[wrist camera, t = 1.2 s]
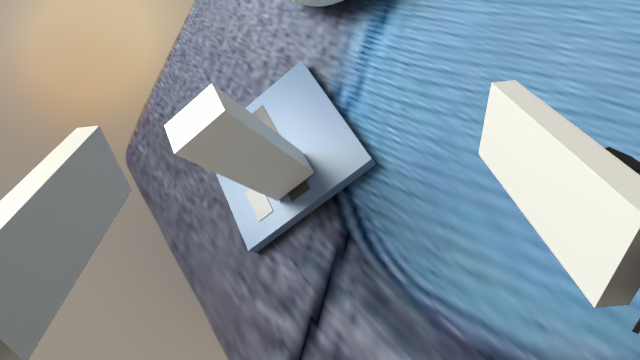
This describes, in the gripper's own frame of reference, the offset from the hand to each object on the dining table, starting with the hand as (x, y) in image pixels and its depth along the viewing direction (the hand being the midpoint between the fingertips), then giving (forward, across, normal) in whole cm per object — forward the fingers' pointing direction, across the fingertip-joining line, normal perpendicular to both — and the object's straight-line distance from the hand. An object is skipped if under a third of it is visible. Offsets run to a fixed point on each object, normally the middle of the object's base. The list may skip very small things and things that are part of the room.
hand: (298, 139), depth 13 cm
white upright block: (+21, -3, -16) cm, 26 cm away
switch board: (+25, -4, -16) cm, 30 cm away
